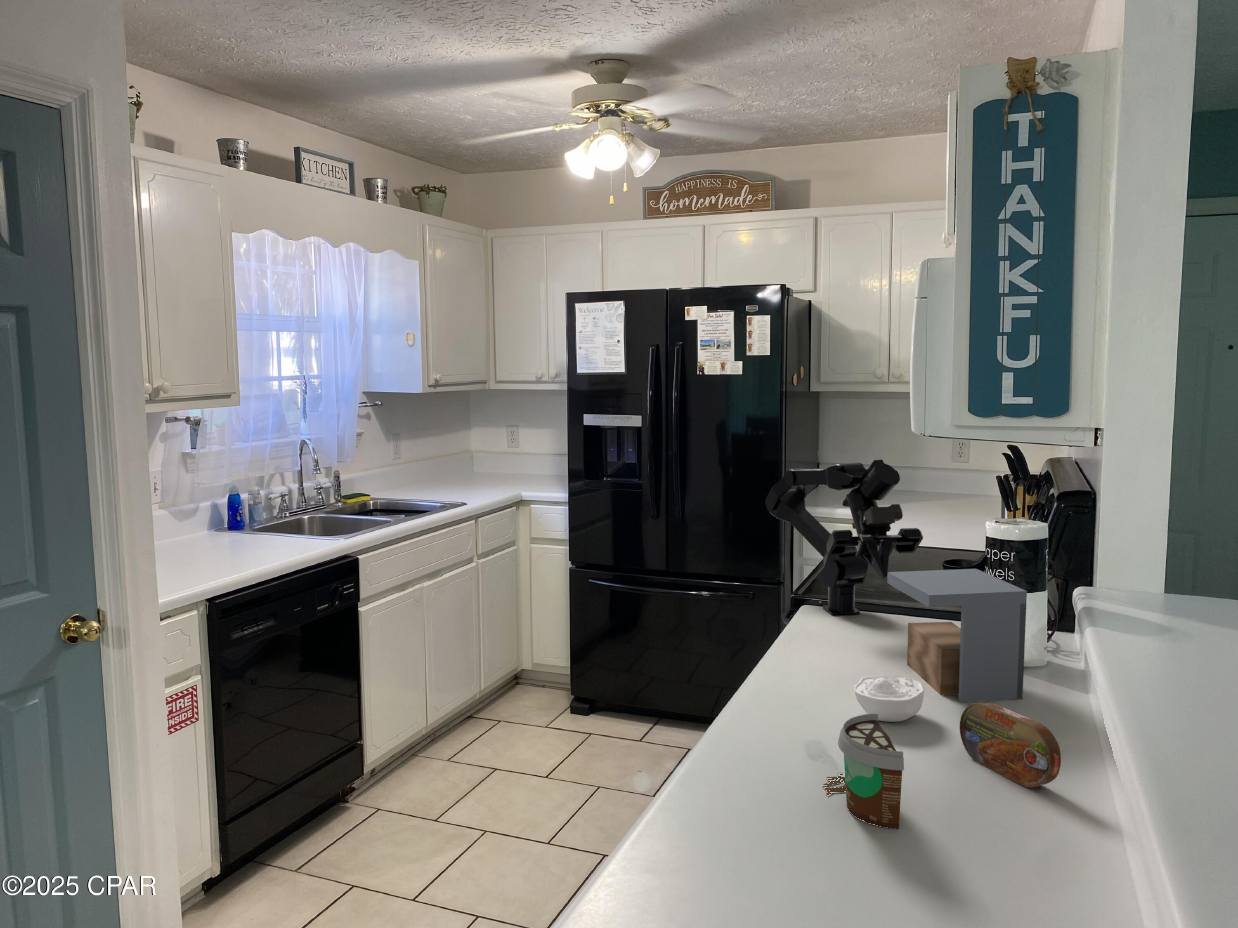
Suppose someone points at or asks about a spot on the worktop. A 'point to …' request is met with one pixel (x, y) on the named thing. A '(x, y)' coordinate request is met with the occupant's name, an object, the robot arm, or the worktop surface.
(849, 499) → the robot arm
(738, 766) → the worktop surface
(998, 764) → the tin
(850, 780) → the food container
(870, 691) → the white bowl of cream
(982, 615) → the slate shelf
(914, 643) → the walnut block
